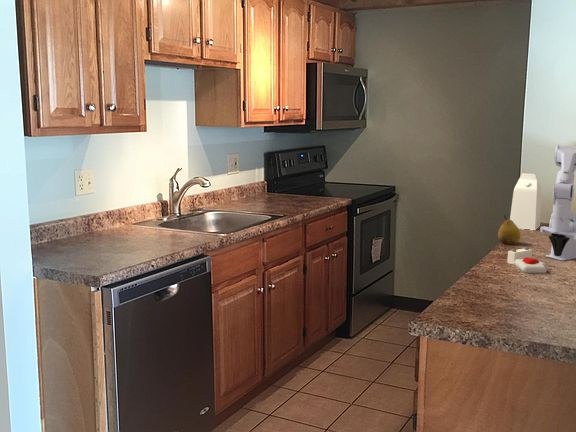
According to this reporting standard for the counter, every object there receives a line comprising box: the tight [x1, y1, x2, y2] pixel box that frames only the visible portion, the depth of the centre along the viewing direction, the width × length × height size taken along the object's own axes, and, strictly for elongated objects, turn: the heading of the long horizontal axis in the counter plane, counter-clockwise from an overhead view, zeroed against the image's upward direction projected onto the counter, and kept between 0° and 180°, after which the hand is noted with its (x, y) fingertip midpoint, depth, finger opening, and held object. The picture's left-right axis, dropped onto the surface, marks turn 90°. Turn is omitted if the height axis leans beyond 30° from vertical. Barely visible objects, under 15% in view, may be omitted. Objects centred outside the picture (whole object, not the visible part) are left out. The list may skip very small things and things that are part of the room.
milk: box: [509, 172, 542, 231], centre depth 307 cm, size 12×12×26 cm
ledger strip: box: [506, 246, 533, 265], centre depth 242 cm, size 10×3×5 cm, turn 121°
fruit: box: [497, 215, 521, 245], centre depth 273 cm, size 9×9×12 cm
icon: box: [514, 257, 548, 274], centre depth 232 cm, size 12×4×10 cm
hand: (557, 255), depth 225 cm, fingers closed
